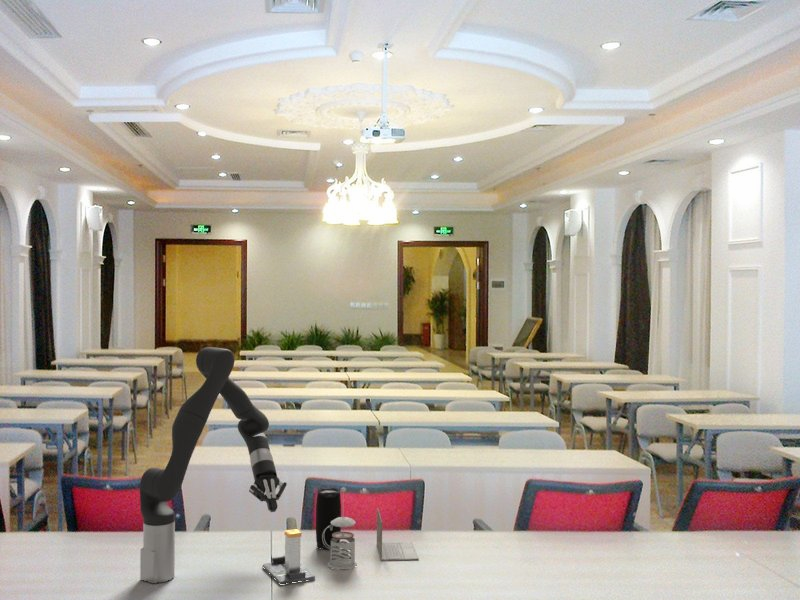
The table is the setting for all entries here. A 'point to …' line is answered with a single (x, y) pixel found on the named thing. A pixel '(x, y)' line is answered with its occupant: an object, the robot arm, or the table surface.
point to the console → (280, 574)
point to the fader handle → (292, 551)
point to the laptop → (393, 546)
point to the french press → (342, 543)
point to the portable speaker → (327, 515)
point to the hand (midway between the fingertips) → (273, 510)
